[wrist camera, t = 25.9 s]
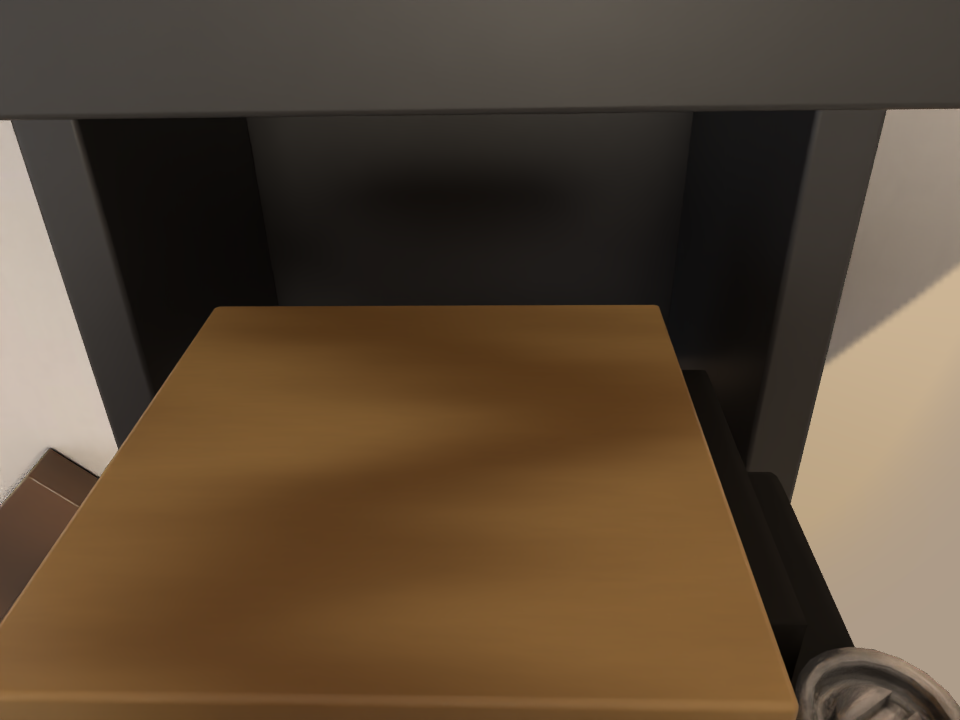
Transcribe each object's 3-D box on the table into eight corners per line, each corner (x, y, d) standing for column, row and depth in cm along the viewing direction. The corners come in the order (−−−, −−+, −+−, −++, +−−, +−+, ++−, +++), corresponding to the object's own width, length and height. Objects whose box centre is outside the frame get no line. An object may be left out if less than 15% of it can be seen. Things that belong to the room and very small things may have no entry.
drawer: (680, 586, 23) (744, 853, 16) (288, 582, 23) (206, 841, 17) (791, -112, 14) (1026, -103, 7) (147, -98, 14) (-138, -78, 8)
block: (659, 303, 9) (804, 708, 4) (625, 612, 11) (695, 1053, 7) (214, 304, 9) (-56, 695, 5) (281, 608, 12) (148, 1036, 7)
